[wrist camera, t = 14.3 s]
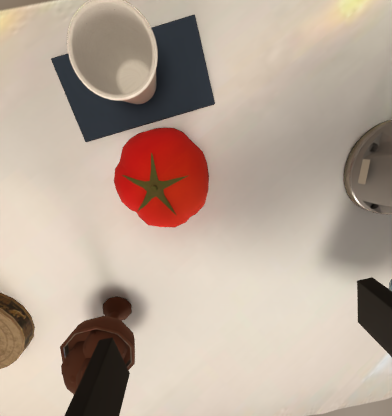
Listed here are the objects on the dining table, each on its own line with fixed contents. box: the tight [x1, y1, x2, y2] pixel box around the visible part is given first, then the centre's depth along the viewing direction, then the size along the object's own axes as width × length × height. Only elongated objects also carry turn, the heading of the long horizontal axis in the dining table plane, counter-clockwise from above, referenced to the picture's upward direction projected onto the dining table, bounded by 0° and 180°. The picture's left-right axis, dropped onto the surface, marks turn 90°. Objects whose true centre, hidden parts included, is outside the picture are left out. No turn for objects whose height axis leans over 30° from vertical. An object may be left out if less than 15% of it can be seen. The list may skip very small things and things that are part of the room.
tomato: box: [114, 128, 209, 227], centre depth 28 cm, size 13×12×11 cm
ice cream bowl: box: [60, 297, 135, 394], centre depth 33 cm, size 11×11×15 cm
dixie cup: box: [67, 0, 158, 104], centre depth 24 cm, size 8×8×10 cm
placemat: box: [51, 15, 215, 142], centre depth 29 cm, size 20×11×1 cm, turn 106°
